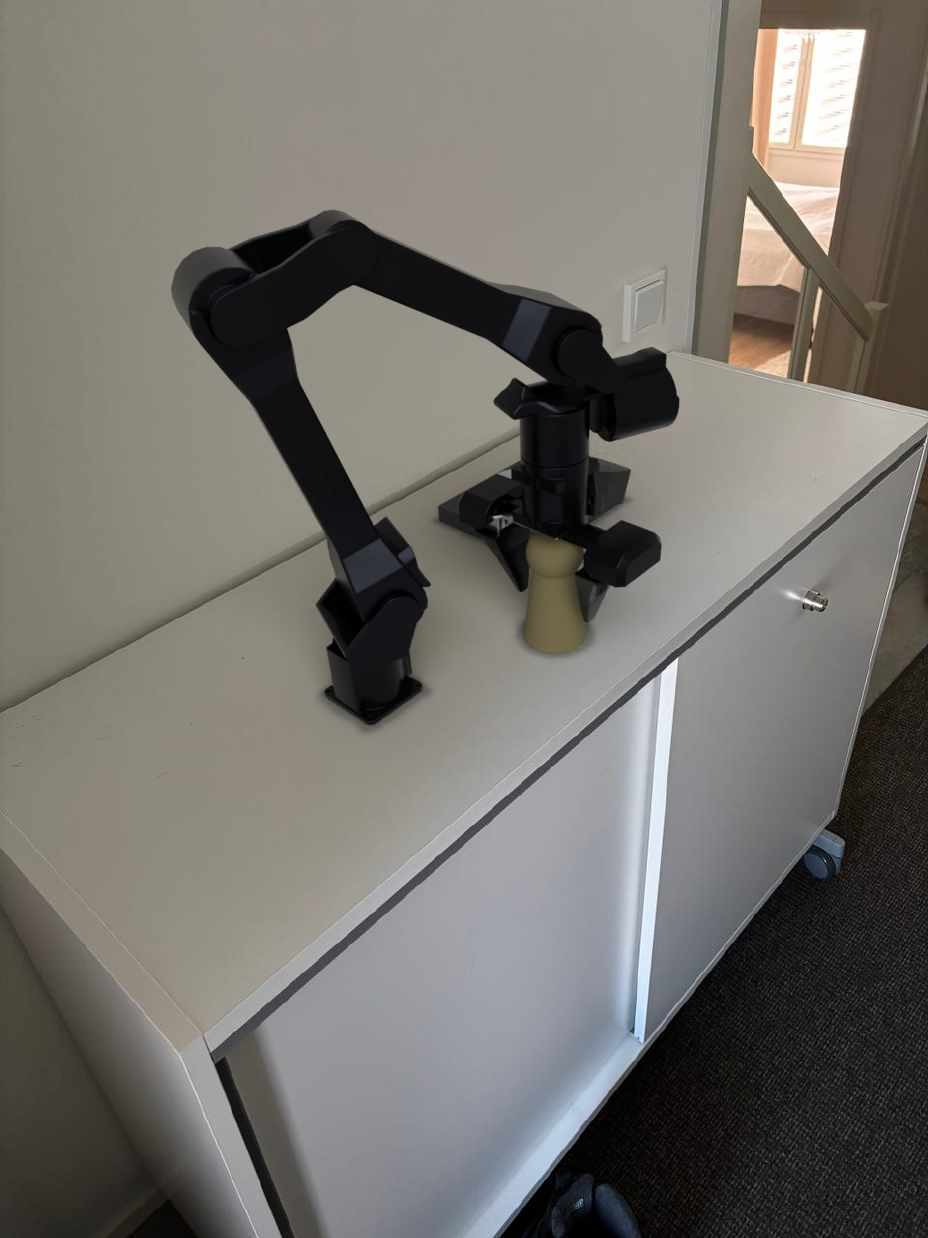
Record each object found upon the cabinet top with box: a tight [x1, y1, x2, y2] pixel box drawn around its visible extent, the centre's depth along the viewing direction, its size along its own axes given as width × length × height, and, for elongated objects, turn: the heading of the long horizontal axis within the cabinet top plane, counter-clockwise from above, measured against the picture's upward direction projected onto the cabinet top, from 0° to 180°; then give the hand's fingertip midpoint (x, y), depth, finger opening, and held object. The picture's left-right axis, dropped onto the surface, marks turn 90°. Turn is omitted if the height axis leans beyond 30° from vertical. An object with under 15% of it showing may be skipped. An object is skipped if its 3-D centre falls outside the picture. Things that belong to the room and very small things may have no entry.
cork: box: [522, 532, 587, 655], centre depth 85 cm, size 6×6×11 cm
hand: (555, 604), depth 86 cm, fingers closed on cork, 7 cm apart
